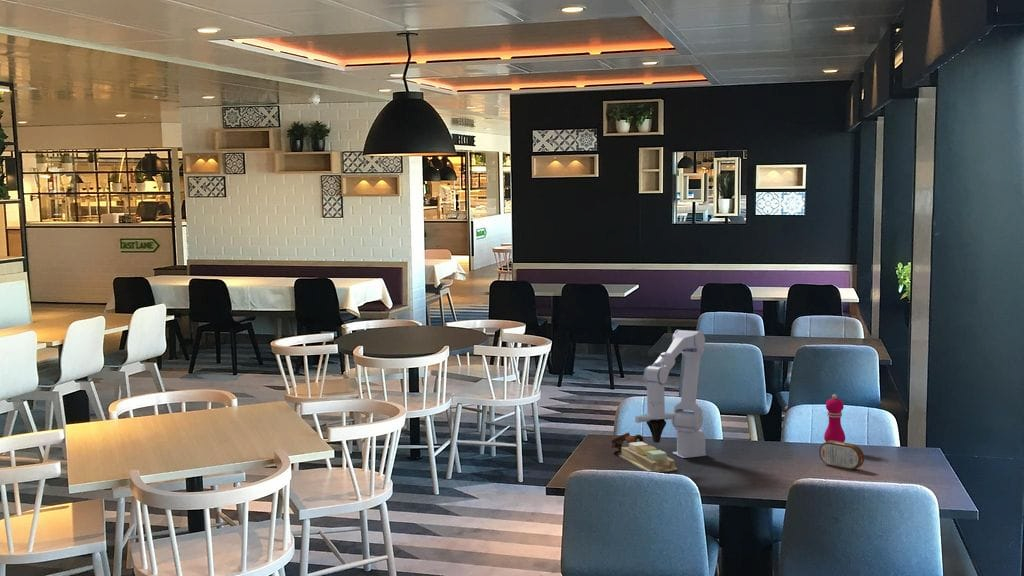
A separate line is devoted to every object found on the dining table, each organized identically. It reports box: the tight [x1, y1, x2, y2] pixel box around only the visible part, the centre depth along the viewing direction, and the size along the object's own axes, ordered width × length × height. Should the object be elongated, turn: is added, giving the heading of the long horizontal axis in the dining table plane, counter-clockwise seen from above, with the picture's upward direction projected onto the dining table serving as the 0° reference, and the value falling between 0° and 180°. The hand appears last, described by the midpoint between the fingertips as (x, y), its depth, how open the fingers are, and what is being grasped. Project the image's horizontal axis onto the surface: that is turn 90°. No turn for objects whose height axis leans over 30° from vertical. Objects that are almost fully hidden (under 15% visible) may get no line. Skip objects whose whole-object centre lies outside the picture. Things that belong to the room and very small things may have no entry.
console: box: [618, 446, 678, 473], centre depth 341 cm, size 10×24×3 cm, turn 18°
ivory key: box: [628, 441, 649, 452], centre depth 348 cm, size 5×5×2 cm
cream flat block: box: [637, 444, 658, 456], centre depth 341 cm, size 5×5×2 cm
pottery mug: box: [610, 432, 645, 451], centre depth 358 cm, size 12×10×8 cm
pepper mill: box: [823, 393, 846, 443], centre depth 354 cm, size 7×7×20 cm
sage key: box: [647, 449, 668, 461], centre depth 334 cm, size 5×5×2 cm
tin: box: [818, 440, 865, 471], centre depth 330 cm, size 15×3×8 cm, turn 43°
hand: (656, 441), depth 334 cm, fingers closed
